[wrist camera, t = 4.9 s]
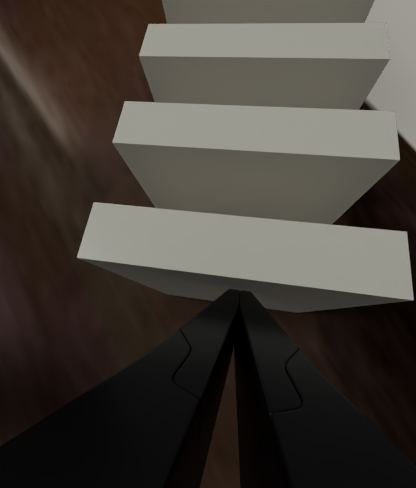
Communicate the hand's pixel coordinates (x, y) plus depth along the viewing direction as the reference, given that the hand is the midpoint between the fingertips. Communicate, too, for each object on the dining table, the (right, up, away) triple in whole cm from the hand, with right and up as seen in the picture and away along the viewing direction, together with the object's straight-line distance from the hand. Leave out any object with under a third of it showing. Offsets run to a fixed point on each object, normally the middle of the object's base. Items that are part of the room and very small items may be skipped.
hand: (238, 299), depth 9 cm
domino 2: (+1, +3, +11) cm, 12 cm away
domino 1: (+1, -2, +10) cm, 10 cm away
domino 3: (+2, +7, +13) cm, 15 cm away
